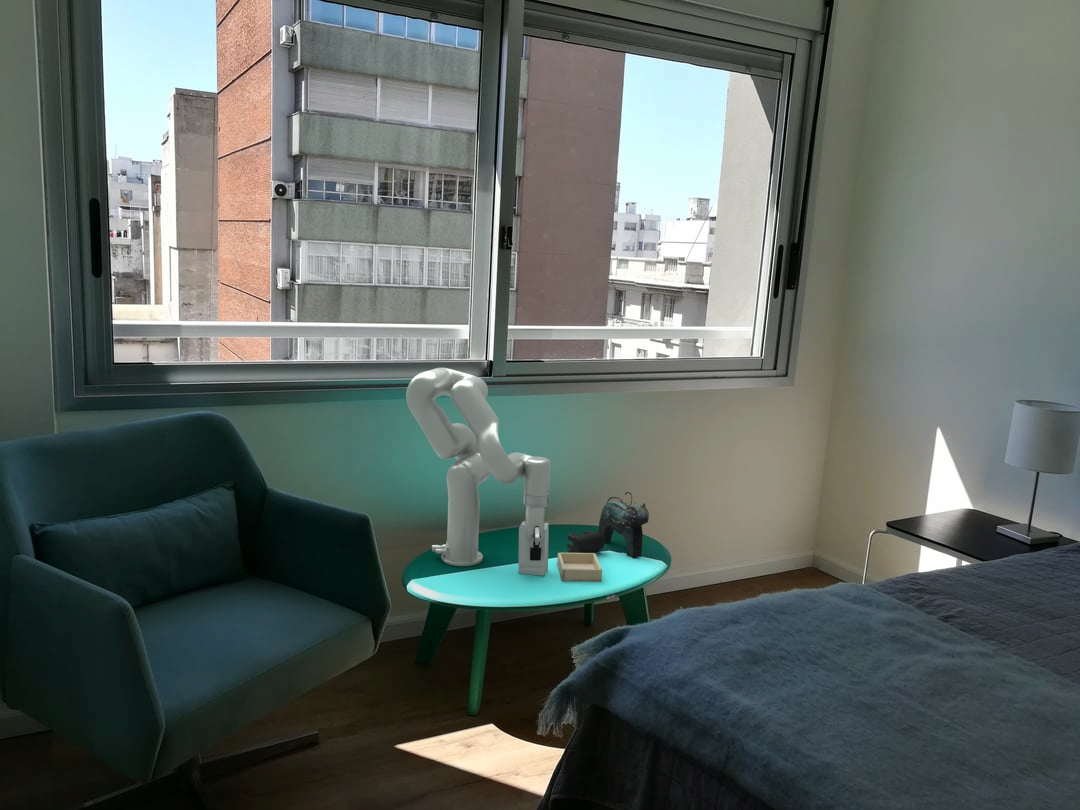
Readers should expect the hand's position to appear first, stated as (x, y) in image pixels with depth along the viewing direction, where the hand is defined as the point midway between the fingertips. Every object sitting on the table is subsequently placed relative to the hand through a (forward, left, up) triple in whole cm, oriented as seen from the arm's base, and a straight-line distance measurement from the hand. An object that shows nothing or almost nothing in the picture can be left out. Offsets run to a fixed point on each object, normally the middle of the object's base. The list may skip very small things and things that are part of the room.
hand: (533, 554), depth 255 cm
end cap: (+18, +16, -6) cm, 25 cm away
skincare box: (0, 0, -6) cm, 6 cm away
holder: (+14, 0, -6) cm, 15 cm away
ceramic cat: (+30, +20, -6) cm, 36 cm away
